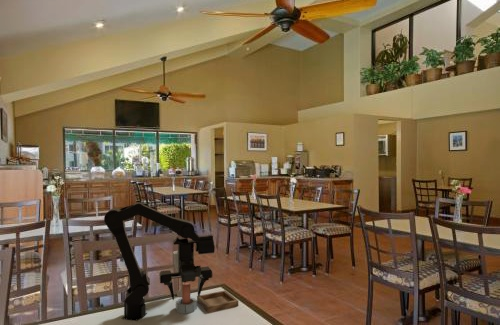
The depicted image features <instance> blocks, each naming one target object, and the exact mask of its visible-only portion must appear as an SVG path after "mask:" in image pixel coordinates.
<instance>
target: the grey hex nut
mask: <svg viewBox="0 0 500 325" xmlns="http://www.w3.org/2000/svg"><path fill="white" fill-rule="evenodd" d="M197 308H198V301H197V298H195V297H190V304H186V305H185V304H182V297H180V298H178V299H177V300H176V301H175V311H176V312H177V313H178V314H184V315H185V314H191V313H194V312H195V311H196V310H197Z"/></svg>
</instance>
